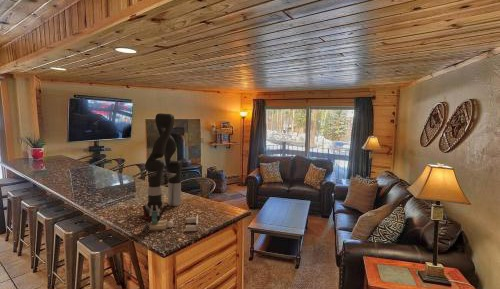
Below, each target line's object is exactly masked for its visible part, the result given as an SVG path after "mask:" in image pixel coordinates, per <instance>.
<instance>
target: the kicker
mask: <svg viewBox="0 0 500 289" xmlns="http://www.w3.org/2000/svg"><path fill="white" fill-rule="evenodd" d="M157 216H158V215H157V211H153V212H152V222H150V223H149V225H150V226H148V230H159V229H167V227H168V226H167V222H168V219H164V220H161V219H160V221H159V222H157Z"/></svg>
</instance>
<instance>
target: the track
mask: <svg viewBox="0 0 500 289" xmlns="http://www.w3.org/2000/svg"><path fill="white" fill-rule="evenodd" d="M177 225H179V226H180V225H181V223H174V225H173V226H177ZM149 226H150V221H148V220H147V221H146V223H145V226H144V228H143V231H144V232H154V231H155V232H156V231H157V232H158V231H160V232H161V231H179V230H180V228H166V229H159V230H149Z"/></svg>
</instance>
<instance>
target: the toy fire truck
mask: <svg viewBox="0 0 500 289" xmlns="http://www.w3.org/2000/svg"><path fill="white" fill-rule="evenodd" d="M161 207H162V206H161ZM161 207H160V212H162V210H163V208H161ZM147 209H148V211H149V212H150V208H149V207H148V206H147ZM142 210H143V216H142V217H143V219H145V220H147V221H149V223H151V221H150V216H149V215H146V213H145V211H144V209H143V208H142ZM153 211H156V210H153ZM162 216H163V214H162V215H160V219H162Z"/></svg>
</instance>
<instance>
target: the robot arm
mask: <svg viewBox="0 0 500 289" xmlns="http://www.w3.org/2000/svg"><path fill="white" fill-rule="evenodd" d="M154 119H155V126H156V130H157V132H158V135H159V136H158V138H156V140H155V141H154V143H153V145H152V150H151V153H150V154H149V156H148V158H147V160H146V161H145V164H144V168H145V170H146V171H147V172H151V173H156V174H153V175H150V176H149V177H148V188H147V189H148V190H147V203H146V204H143V206H142V210H143V209H144V210H143V212H144V211H145V213H146V215H149V216H150V221H151V222H152V212H153V210H156V211H157V215H158V216H157V222H159V221H160V220H161V218H160V215H162V216H163V214H164V212H165V209H166V208H167V205H168V206H169V207H177V206H181V204H182V201H181V200H182V167H183V166H182V165H183V164H182V161H181V160H171V159H172V157H173V156H174V154H175V152H176V151H177V144H176V141H175V138H174V137H173V135H171V134H172V131H173V129H174V126H175V116H174V114H172V113H160V112H159V113H157V114H156V115H155V118H154ZM163 157H164V161H163V160H162V158H163ZM164 169H165V170H166V172H167V174H168V173H169V174H175V175H174V176H171V177H169V178H168V181H167V184H168V186H167V187H168V188H167V195H168V196H167V203H166V204H164V203H163V202H162V200H163V199H162V193H163V192H162V178H163V177H162V176H163V173H164ZM147 206H148V207H149V208H150V212H149V211H148V209H147ZM160 207H162V208H161V209H162V212H160ZM150 221H149V222H150ZM151 222H150V223H151Z"/></svg>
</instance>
